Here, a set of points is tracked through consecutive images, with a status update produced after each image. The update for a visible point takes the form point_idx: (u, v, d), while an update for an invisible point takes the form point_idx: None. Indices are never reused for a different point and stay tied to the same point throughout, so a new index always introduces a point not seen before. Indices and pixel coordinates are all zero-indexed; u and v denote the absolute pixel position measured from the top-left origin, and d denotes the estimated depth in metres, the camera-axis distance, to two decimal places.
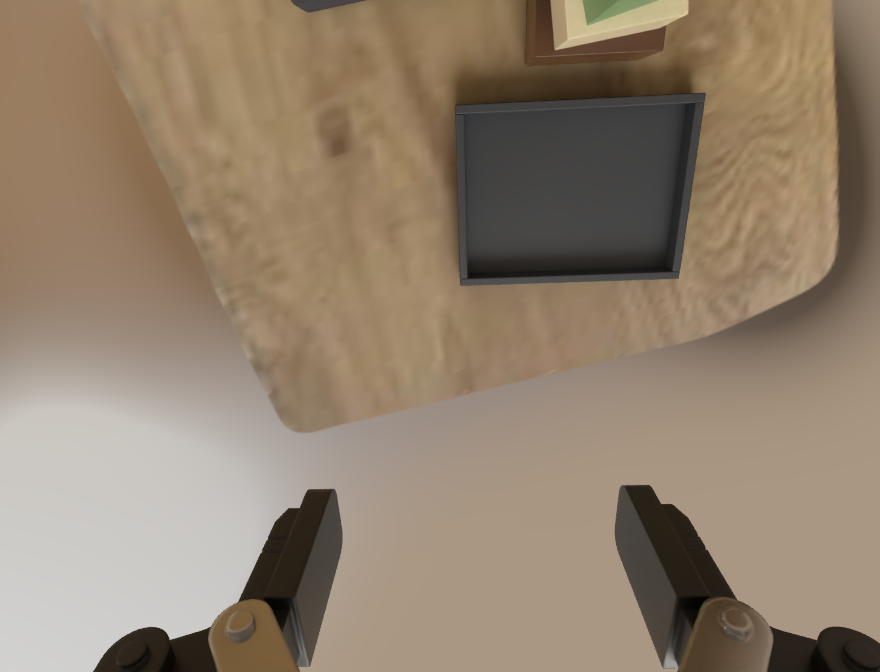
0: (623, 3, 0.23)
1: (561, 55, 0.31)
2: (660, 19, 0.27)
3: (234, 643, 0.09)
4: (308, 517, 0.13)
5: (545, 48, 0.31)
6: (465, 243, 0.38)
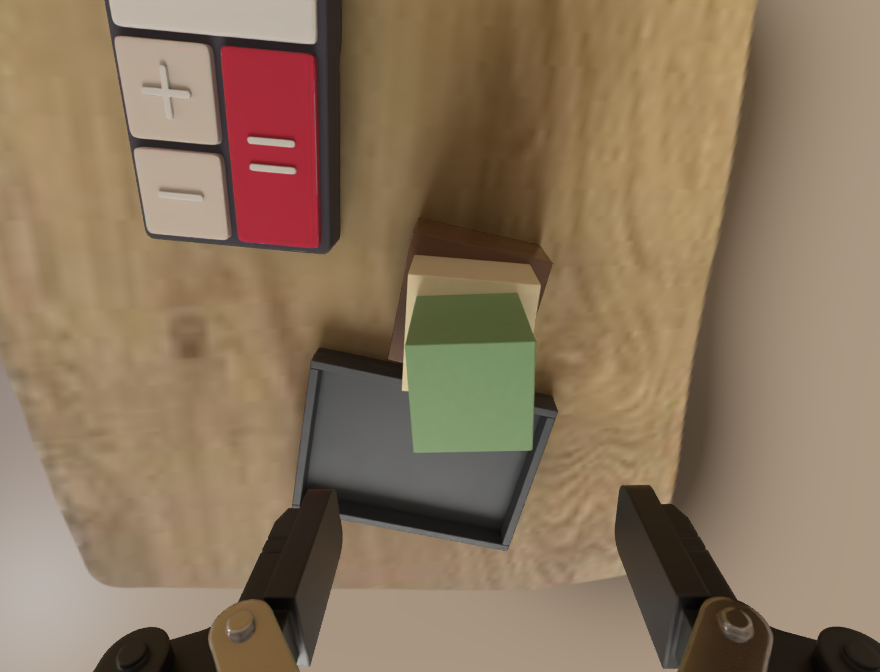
0: None
1: None
2: None
3: (234, 643, 0.09)
4: (308, 517, 0.13)
5: (399, 354, 0.30)
6: (302, 476, 0.37)
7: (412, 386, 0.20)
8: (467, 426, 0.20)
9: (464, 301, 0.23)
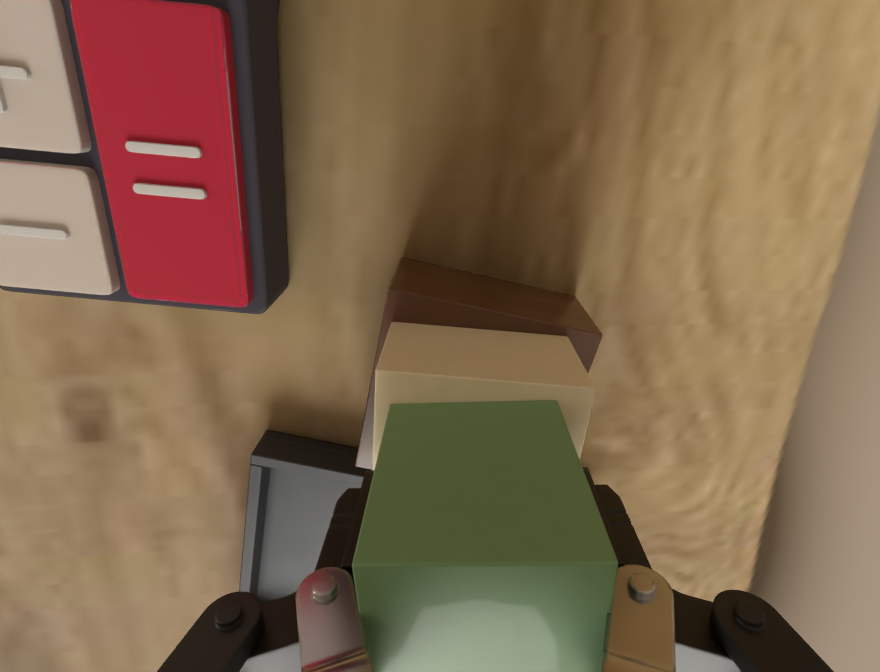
0: None
1: None
2: None
3: (321, 606, 0.10)
4: None
5: (372, 460, 0.21)
6: None
7: (369, 631, 0.10)
8: None
9: (469, 420, 0.14)
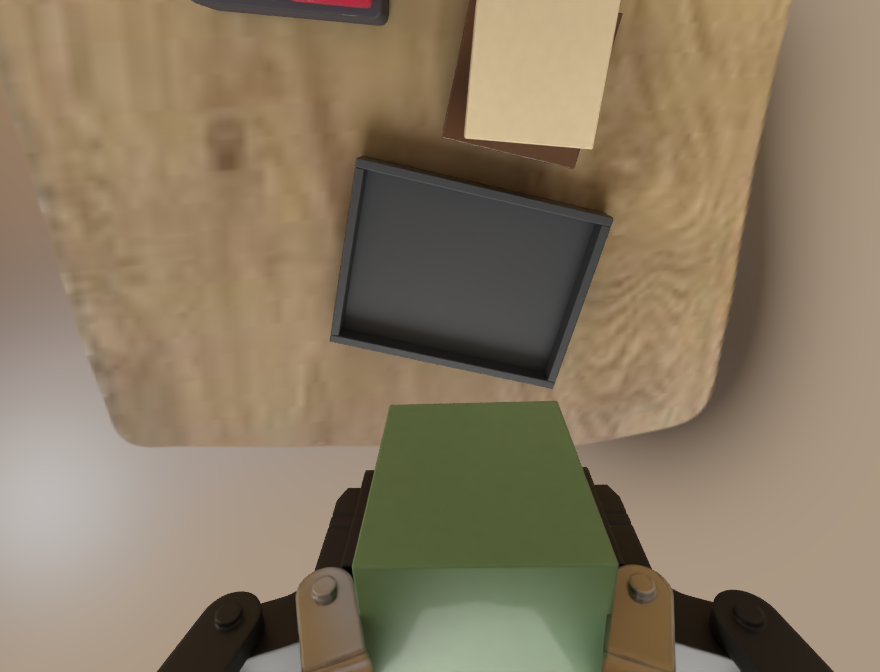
0: None
1: (470, 143, 0.29)
2: (564, 146, 0.25)
3: (321, 606, 0.10)
4: None
5: (454, 131, 0.29)
6: (342, 300, 0.35)
7: (369, 633, 0.10)
8: None
9: (470, 422, 0.14)
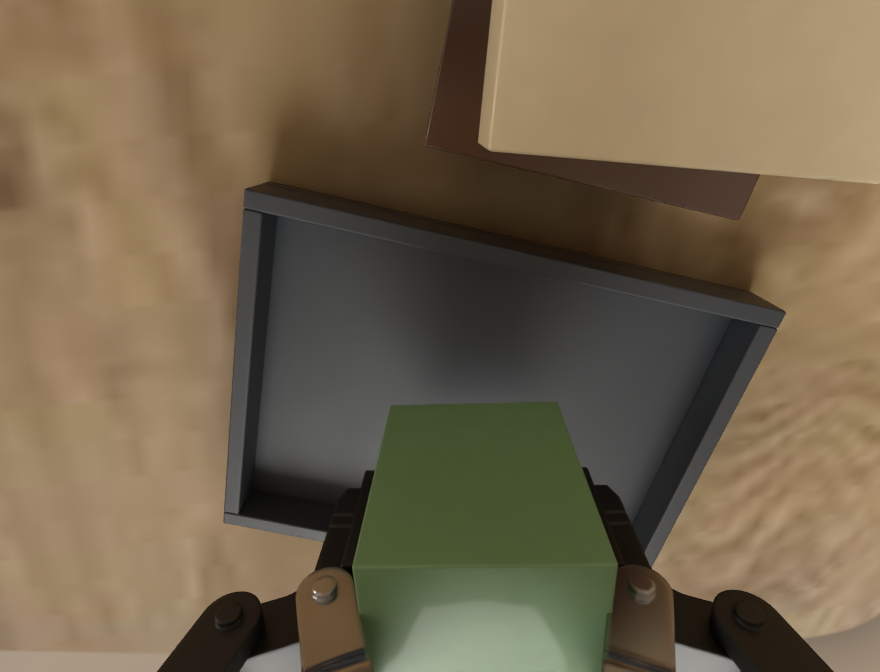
0: None
1: (493, 160, 0.12)
2: (792, 174, 0.08)
3: (321, 606, 0.10)
4: None
5: (455, 131, 0.12)
6: (240, 456, 0.18)
7: (370, 633, 0.10)
8: None
9: (470, 422, 0.14)
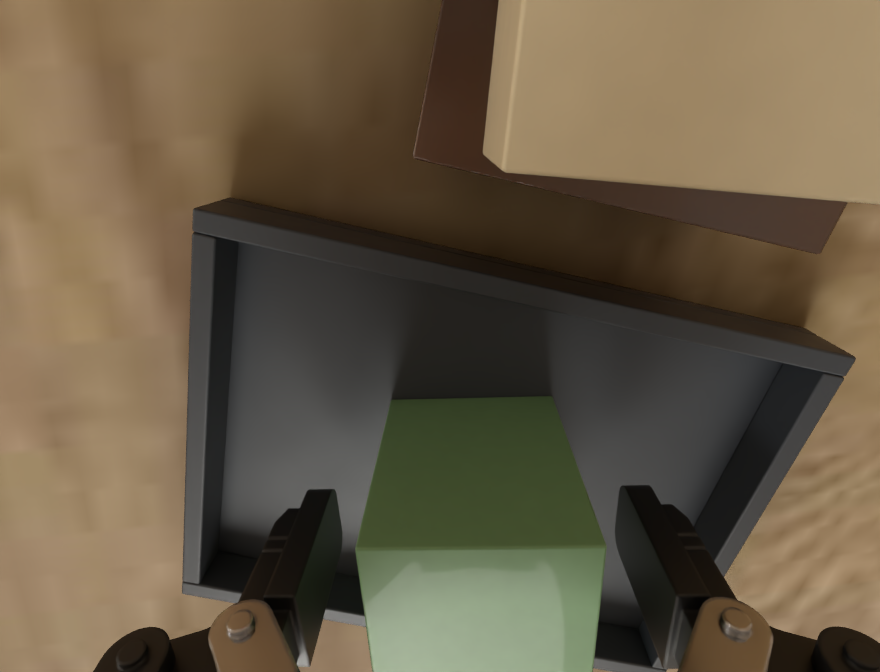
0: None
1: (502, 177, 0.09)
2: None
3: (234, 643, 0.09)
4: (308, 517, 0.13)
5: (453, 139, 0.09)
6: (198, 521, 0.16)
7: (371, 613, 0.11)
8: None
9: (468, 415, 0.14)
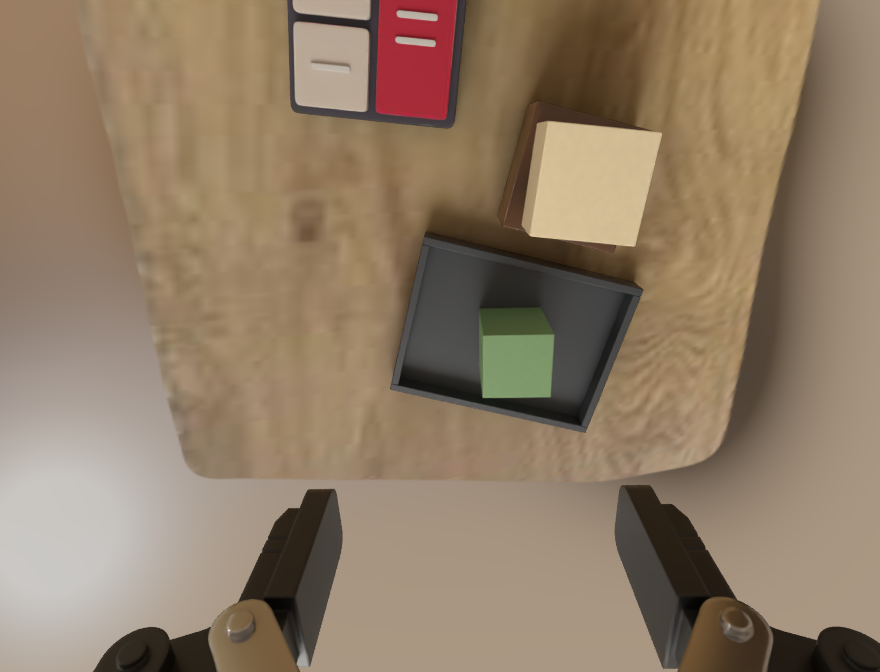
0: None
1: None
2: (611, 243, 0.30)
3: (234, 643, 0.09)
4: (308, 517, 0.13)
5: (513, 221, 0.34)
6: (403, 354, 0.40)
7: (485, 358, 0.35)
8: (514, 382, 0.36)
9: (509, 311, 0.39)
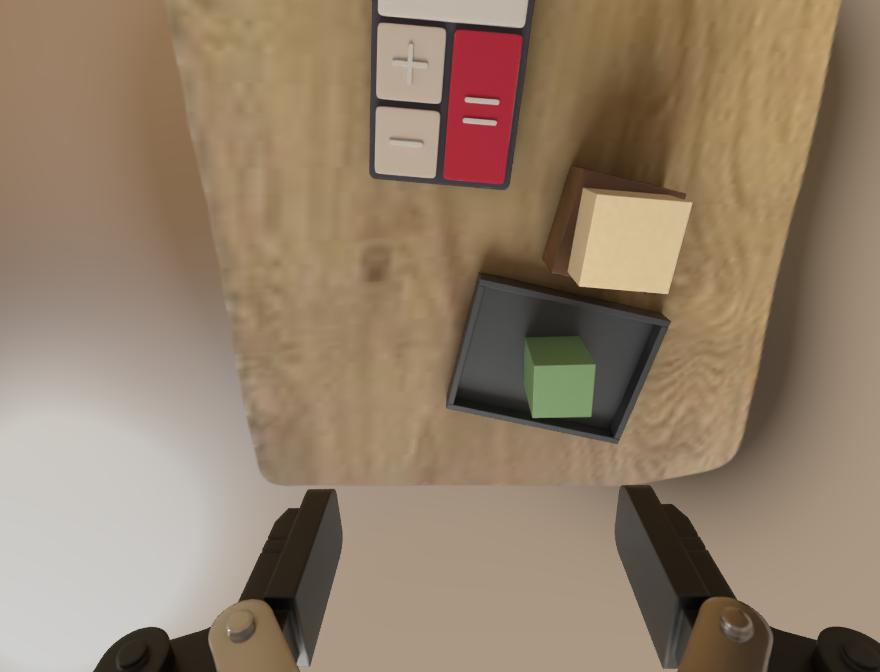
0: None
1: None
2: (648, 291, 0.36)
3: (234, 643, 0.09)
4: (308, 517, 0.13)
5: (560, 268, 0.39)
6: (459, 378, 0.46)
7: (535, 385, 0.41)
8: (560, 404, 0.42)
9: (552, 341, 0.45)
